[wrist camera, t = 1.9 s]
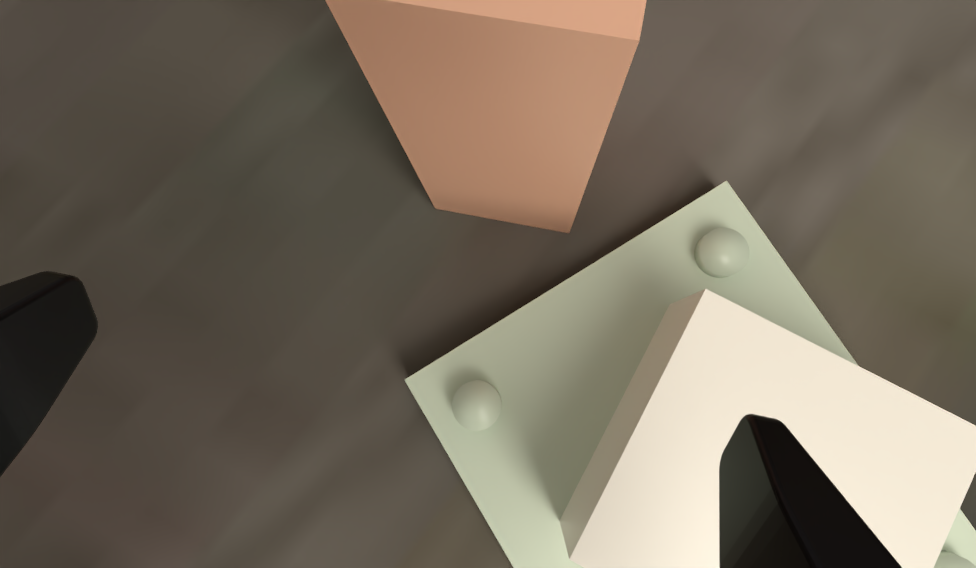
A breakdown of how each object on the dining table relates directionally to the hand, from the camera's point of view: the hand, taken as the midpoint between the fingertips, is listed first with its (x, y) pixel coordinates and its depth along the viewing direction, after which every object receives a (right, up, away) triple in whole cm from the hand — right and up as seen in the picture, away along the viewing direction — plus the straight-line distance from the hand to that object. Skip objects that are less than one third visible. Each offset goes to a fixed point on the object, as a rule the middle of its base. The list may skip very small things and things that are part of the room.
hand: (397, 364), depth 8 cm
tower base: (+8, -6, +12) cm, 16 cm away
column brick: (+2, +6, +14) cm, 16 cm away
